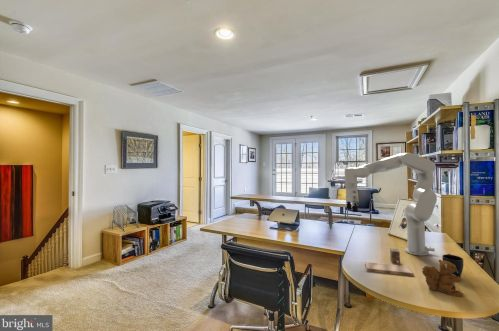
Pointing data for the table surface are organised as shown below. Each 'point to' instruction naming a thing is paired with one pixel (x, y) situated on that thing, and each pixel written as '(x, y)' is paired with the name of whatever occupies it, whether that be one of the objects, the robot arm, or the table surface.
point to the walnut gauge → (395, 256)
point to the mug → (455, 263)
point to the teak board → (389, 268)
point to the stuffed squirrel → (442, 278)
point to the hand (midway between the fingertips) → (352, 210)
